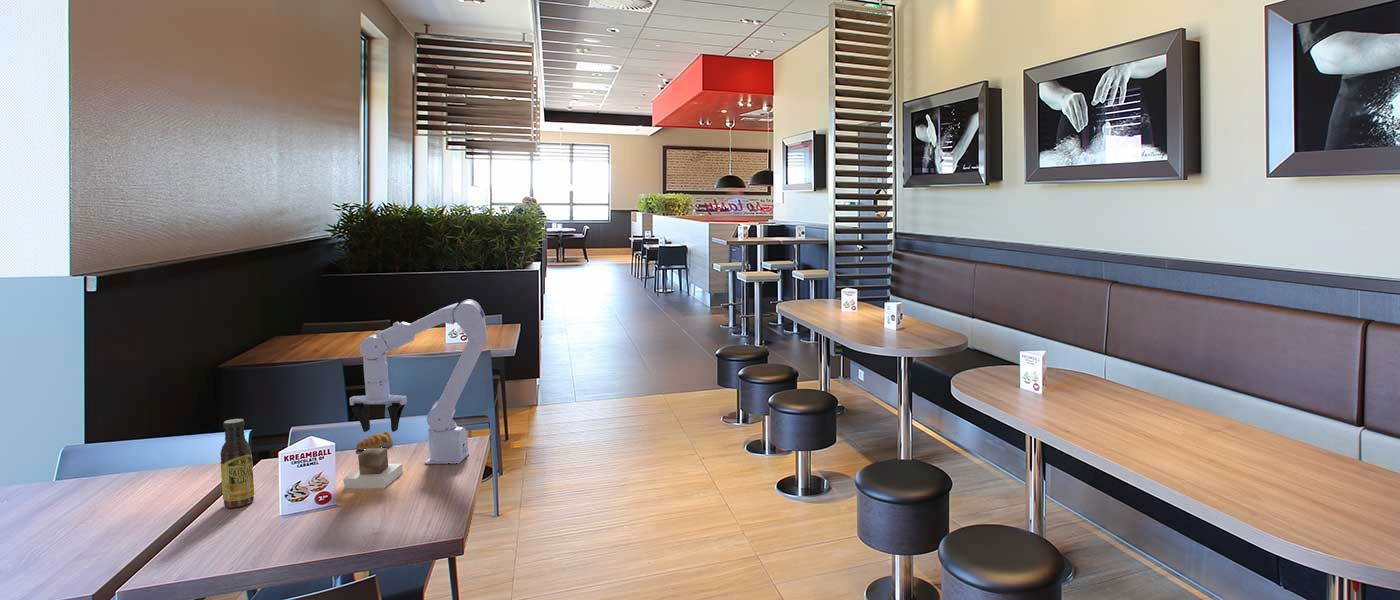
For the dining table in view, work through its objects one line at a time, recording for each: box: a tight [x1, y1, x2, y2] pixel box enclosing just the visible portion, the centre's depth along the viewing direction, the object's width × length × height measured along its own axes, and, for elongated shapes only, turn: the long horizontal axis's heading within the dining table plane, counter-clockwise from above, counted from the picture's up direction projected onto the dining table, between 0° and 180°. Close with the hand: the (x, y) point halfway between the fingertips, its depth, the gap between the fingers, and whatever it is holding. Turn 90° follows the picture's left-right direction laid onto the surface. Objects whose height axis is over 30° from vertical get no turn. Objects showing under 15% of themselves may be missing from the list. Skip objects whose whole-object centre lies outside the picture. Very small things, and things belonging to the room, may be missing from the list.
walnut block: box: [357, 447, 389, 475], centre depth 180 cm, size 5×5×5 cm
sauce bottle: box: [220, 418, 255, 509], centre depth 166 cm, size 6×6×20 cm
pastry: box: [356, 431, 394, 451], centre depth 206 cm, size 9×7×4 cm
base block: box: [343, 463, 404, 489], centre depth 180 cm, size 10×10×3 cm
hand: (380, 430), depth 190 cm, fingers open, 7 cm apart
